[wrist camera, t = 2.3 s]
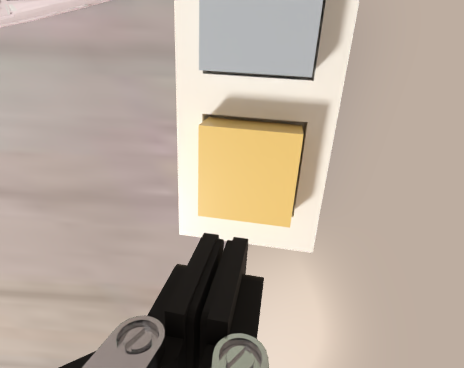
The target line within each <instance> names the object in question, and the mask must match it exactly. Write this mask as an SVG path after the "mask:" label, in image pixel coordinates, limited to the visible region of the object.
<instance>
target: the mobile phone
mask: <svg viewBox="0 0 464 368" xmlns="http://www.w3.org/2000/svg"><path fill="white" fill-rule="evenodd" d="M108 1H112V0H0V27H5V26H10V25H15V24H20V23H26V22H31V21H35V20H39V19H43V18H47V17H50V16H54V15H58V14H62V13H66V12H70V11H74V10H78V9H83V8H87V7H90V6H92V5H96V4H100V3H104V2H108ZM10 17H11V18H10Z"/></svg>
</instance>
